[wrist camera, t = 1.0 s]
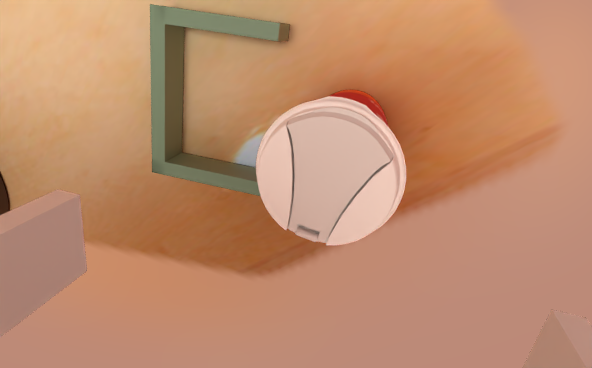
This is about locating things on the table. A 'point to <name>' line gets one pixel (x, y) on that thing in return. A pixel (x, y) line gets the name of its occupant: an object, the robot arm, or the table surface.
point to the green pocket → (170, 94)
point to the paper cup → (331, 168)
